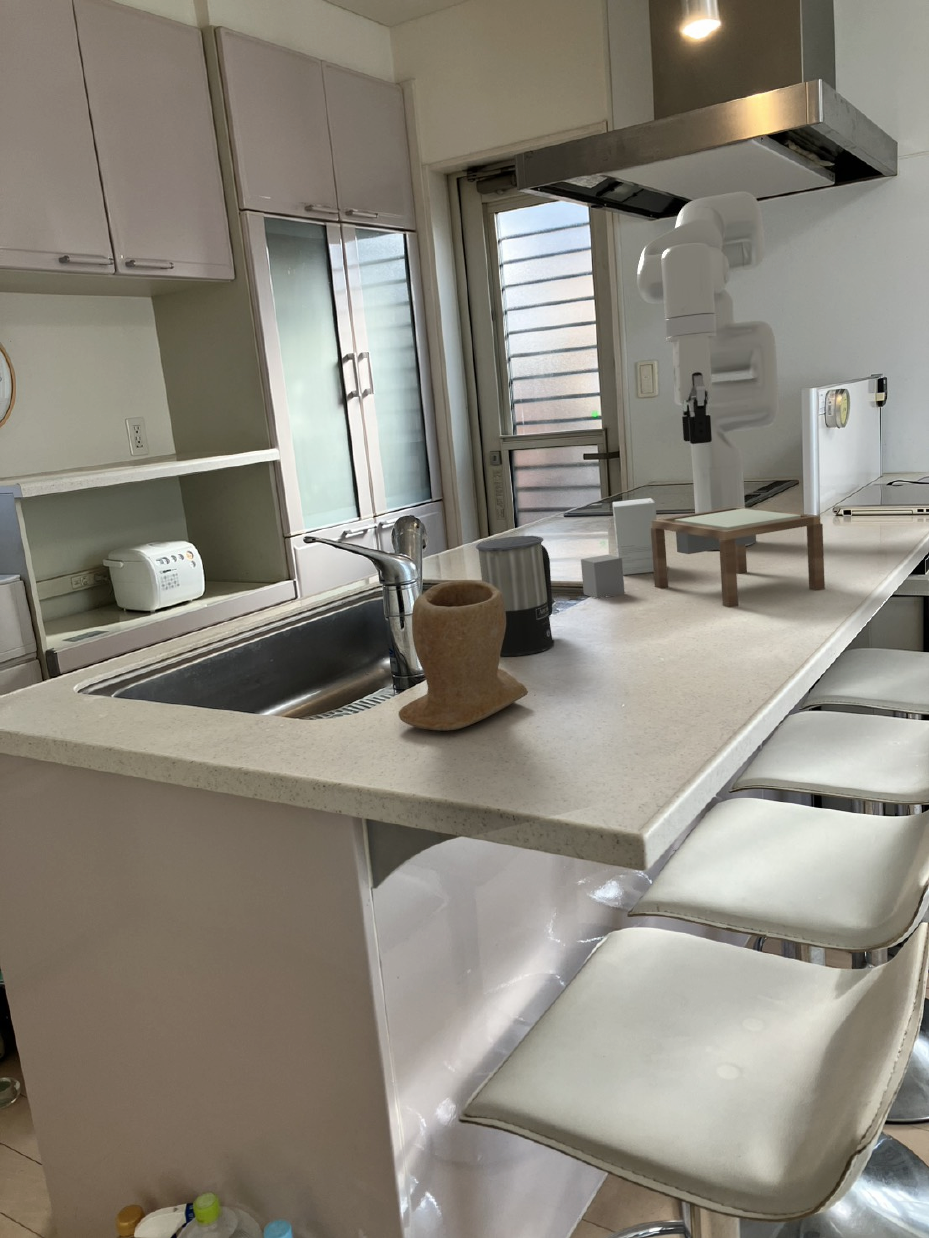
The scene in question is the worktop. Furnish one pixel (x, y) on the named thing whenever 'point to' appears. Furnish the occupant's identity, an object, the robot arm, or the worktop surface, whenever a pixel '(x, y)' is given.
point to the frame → (738, 548)
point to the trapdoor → (725, 527)
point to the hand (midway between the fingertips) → (697, 441)
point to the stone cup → (460, 656)
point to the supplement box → (634, 534)
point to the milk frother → (520, 590)
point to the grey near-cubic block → (602, 576)
